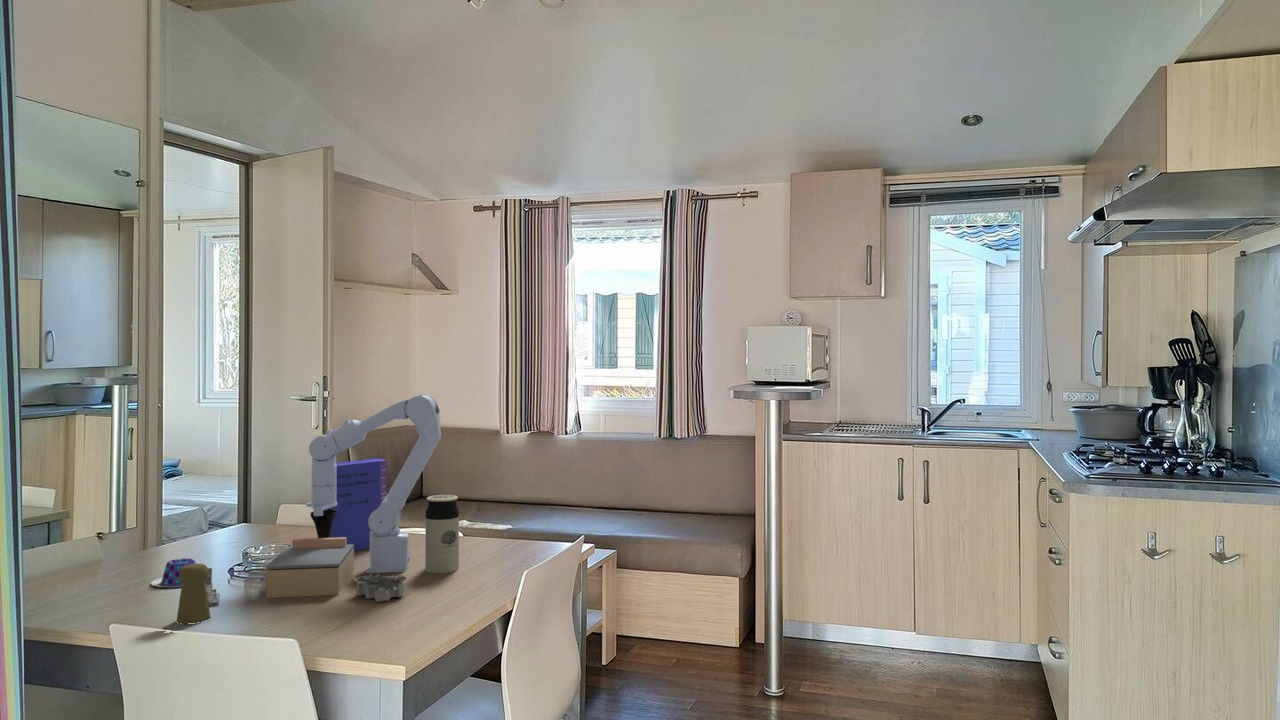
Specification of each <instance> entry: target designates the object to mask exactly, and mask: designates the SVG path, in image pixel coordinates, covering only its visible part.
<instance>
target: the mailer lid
mask: <svg viewBox="0 0 1280 720" xmlns="http://www.w3.org/2000/svg"><path fill="white" fill-rule="evenodd" d="M353 547H354V544H347V537H338V538H318V537H313V538H312V537H310V538H305V537H304V538H303V537H302V538H293V539H292V545H289V546H287V547H286V548H285V549H283V551H281V552H280V553H279V554H278V555H277V556H276V557H275V558H274V559H273V560H272V561H270V562H269V563H268V564H267V565H266V567H265V569H266V570H267V569H286V568H315V567H339V566H340V564H341V563H342V562H343V560H344V559H345V558H346V557H347V555H348V554H349V553H350V551H351V550H352V549H353Z"/></svg>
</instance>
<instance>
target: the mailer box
mask: <svg viewBox="0 0 1280 720" xmlns="http://www.w3.org/2000/svg"><path fill="white" fill-rule="evenodd" d="M265 572H266V573H265V583H266V584H265V589H266V590H265V598H267V599H271V598H292V597H313V596H316V597H318V596H331V595H332V596H338V595H340V593H341V592H342V591H343V589H344V587H345V586H346V584H347V583H348V582H349V579H350V578H351V577H352V575H353V574H354V572H355V551H354V548H353V549H352V550H351V551H350V553H349V554H348V555H347V557H346V558H345V559H344V560H343V562H342V563H341V564H340V566H339V567H315V568H286V569H266V570H265Z"/></svg>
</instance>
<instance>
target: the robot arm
mask: <svg viewBox="0 0 1280 720" xmlns="http://www.w3.org/2000/svg"><path fill="white" fill-rule="evenodd" d="M440 414H441V410H440V408H439V404H438V403H437V401H436V399H435V398H434V397H432V396H431V395H430V394H424V393H423V394H419V395H415V396H413V397H411V398H408V399H405V400H402V401H398V402H396V403H394V404H391V405H389V406H387V407H386V408H384V409H382V410H380V411H378V412H376V413H374V414H372V415H371V416H369V417H367V418H366V419H364V420H362V421H361V420H358V419H352V420H350V419H346V420H344V421H343V422H342V423H343V424H342V425H340V426H338V427H335V428H334V429H328V430H326V431H325V435H317V436H316V437H315V438H314V439H313V440H311V441H310V444H309V446H308V452H309V454H310V456H311V502H307V503H306V504H305V505H306V507H308V508H309V507H310V508H311V509H312V510H313V511H311V512H310V517H311V519H312V521H313V523H314V526H315V530H316V535H317V538H329V537H330V533H331V528H332V523H333V520H334V518H335V515H336V513H337V510H336V509H330V508H332V507H335V506H337V502H336V496H337V466H336V463H337V455H338V453H340V452H341V453H343V452H344V451H346V450H348V449H350V448H352V447H353V446H355V445H357V444H360V443H362V442H363V441H365V440H366V437H367V435H368V434H369V432H371V431H373V430H376V429H377V428H380V427H382V426H384V425H386V424H388V423H390V422H392V421H395V420H407V419H409V420H410V421H411V423H413V424H414V426H415V428H416V431H417V432H416V433H417V434H418V439H417V441H416V443H415V444H414V446H413V448H412V450H411V451H410V453H409V455H408V457H407V458H406V460H405V462H404V464H403V465H402V468H401V469H400V471H399V473H398V474H397V477H396V479H395V480H394V481H393V484H392V485H391V487H390V488H389V491H388V493H386V497H385V499H384V500H383V502H382V503H381V505H380V506H379V507H378V509H376V510H375V511H373V512H372V513H371V515H370V516H369V519H368V525H369V528H370V529H371V531H370V548H369V565H368V566H367V568H366V570H365V573H366V574H380V573H381V574H382V573H401V572H402V573H405V572H407V571H408V568H409V566H410V563H411V555H410V533H409V532H401V529H400V528H399V526H398V525H399V523H400V522H401V519H402V510H403V508H404V506H405V505H406V501H407V499H408V498H409V496H410V494H411V492H412V491H413V488H414V487H415V485H416V483H417V482H418V480H419V478H420V477H421V474H422V473H423V471H424V469H425V467H426V465H427V463H428V461H429V459H430V458H431V456H432V455H433V452H434V450H435V449H436V447H437V445H438V443H439V442H440V439H441V437H442V430H441V415H440Z"/></svg>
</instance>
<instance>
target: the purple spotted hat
mask: <svg viewBox="0 0 1280 720" xmlns="http://www.w3.org/2000/svg"><path fill="white" fill-rule="evenodd" d="M189 564H197V562H196V561H195V560H194V559H192V558H185V557H184V558H177V559H176V558H175V559H172V560H169V561H167V562H166V564H165V568H164V571H163V576H162V577H159V578H157V579H154V580H152V581H151V582H150V585H151V586H153V587H158V588H164V587H166V588H168V589H169V588H170V589H171V588H172V589H173V588H175V587H176V588H181V587H182V582H181V581H180V578H179V571H180V569H181V568H182V567H183V566H185V565H189Z"/></svg>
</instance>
